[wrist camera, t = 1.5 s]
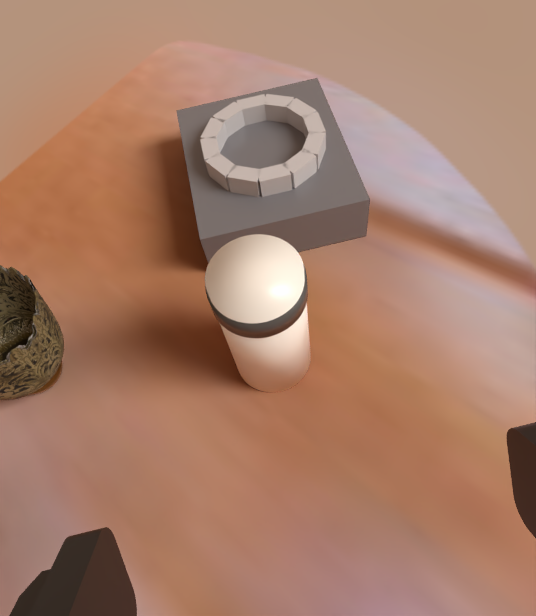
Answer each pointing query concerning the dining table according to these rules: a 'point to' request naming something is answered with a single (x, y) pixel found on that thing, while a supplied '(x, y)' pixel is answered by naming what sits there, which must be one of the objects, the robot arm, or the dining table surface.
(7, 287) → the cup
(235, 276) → the domed cylinder with band
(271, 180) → the square base with ring
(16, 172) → the dining table surface
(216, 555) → the dining table surface
